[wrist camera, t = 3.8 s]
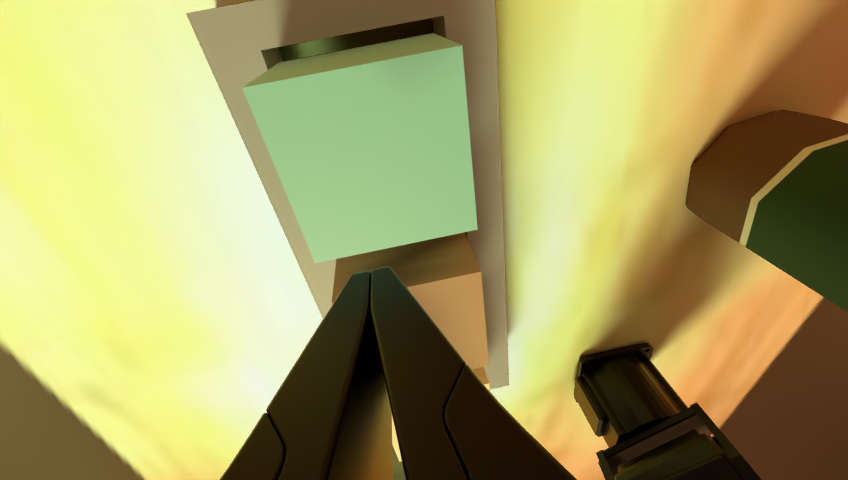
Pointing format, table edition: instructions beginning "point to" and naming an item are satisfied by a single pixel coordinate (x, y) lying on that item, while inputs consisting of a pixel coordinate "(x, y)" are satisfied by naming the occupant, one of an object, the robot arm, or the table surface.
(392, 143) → the green block
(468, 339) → the tan block
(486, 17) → the grey rectangular tray
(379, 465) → the robot arm
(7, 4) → the table surface
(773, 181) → the beer bottle
